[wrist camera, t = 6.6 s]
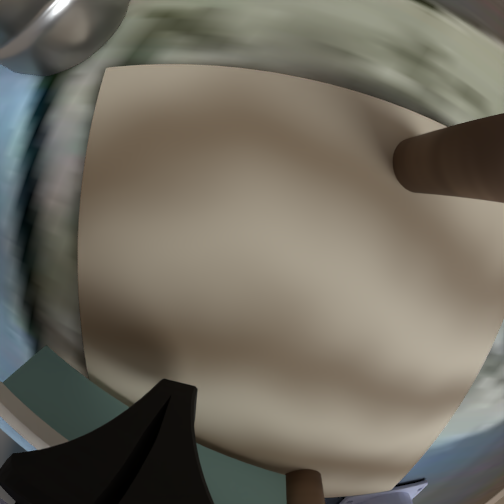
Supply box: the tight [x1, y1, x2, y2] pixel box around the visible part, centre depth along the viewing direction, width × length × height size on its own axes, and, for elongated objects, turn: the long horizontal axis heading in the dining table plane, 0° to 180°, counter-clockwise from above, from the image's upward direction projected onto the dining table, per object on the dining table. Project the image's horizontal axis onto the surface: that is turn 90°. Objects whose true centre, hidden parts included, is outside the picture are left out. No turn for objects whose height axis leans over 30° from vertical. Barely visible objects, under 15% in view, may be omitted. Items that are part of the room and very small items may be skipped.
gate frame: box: [78, 64, 504, 504], centre depth 8 cm, size 22×20×7 cm
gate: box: [0, 345, 287, 504], centre depth 9 cm, size 14×2×4 cm, turn 58°
